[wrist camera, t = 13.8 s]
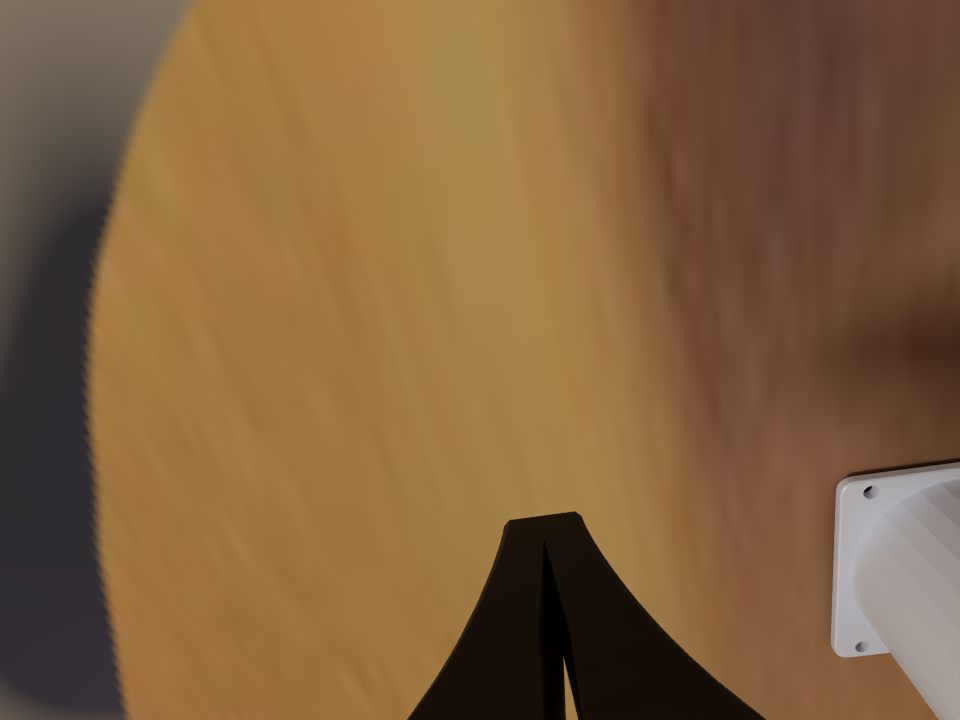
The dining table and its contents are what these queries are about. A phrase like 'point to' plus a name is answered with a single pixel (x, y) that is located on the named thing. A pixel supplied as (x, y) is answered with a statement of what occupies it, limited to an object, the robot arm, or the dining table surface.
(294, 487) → the dining table surface
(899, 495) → the robot arm
